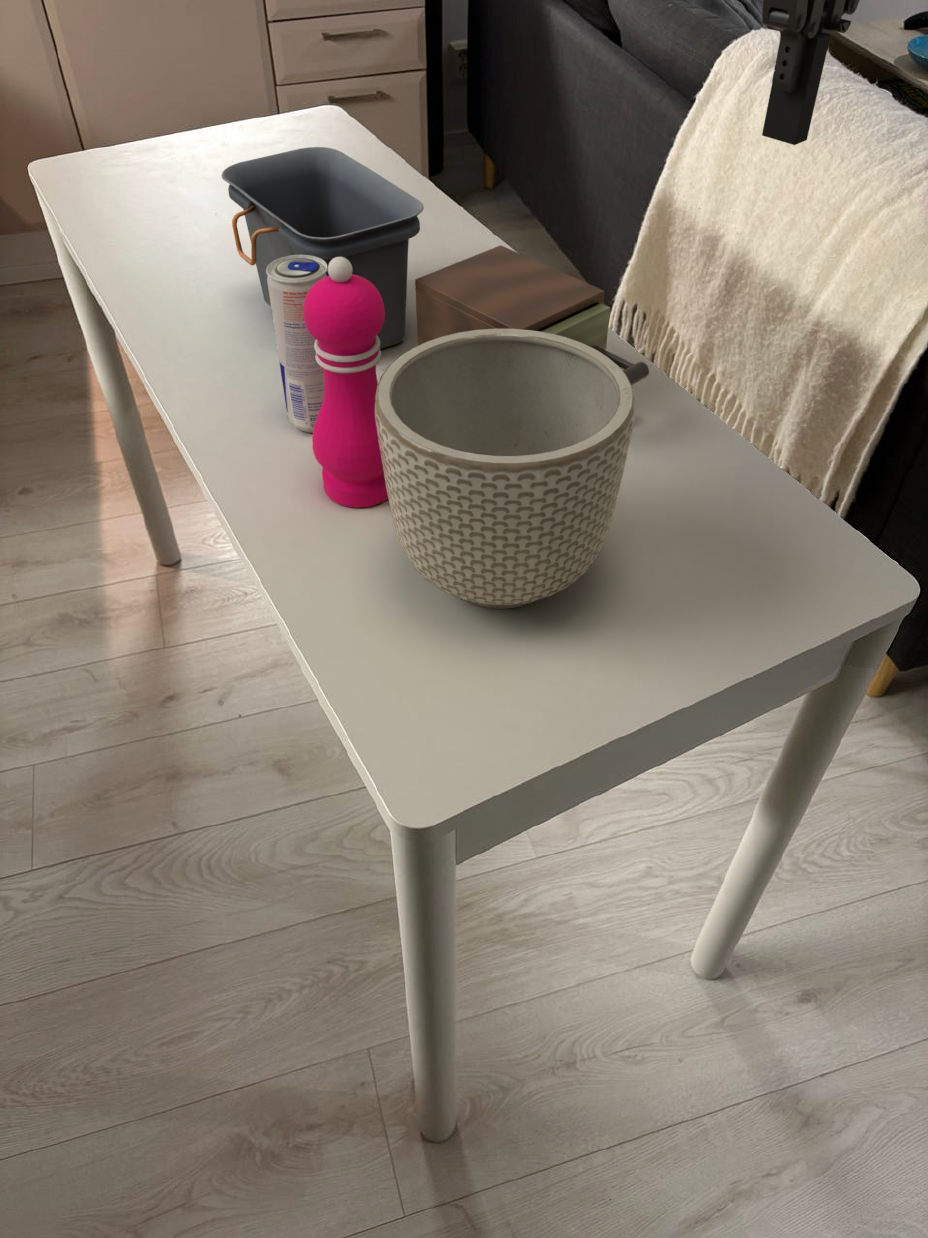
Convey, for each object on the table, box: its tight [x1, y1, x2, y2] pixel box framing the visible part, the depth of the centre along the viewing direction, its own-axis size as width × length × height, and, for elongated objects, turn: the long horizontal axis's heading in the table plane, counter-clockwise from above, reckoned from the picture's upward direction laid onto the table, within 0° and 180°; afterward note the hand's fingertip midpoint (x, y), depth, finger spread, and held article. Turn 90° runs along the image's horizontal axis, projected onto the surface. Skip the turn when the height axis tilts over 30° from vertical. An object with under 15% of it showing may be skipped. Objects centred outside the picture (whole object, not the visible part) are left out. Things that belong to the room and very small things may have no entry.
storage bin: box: [221, 146, 425, 350], centre depth 99 cm, size 21×16×14 cm
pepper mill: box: [303, 257, 389, 508], centre depth 76 cm, size 7×7×20 cm
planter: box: [375, 329, 636, 610], centre depth 70 cm, size 17×17×16 cm
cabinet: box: [414, 245, 605, 346], centre depth 93 cm, size 14×11×10 cm
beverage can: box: [266, 255, 329, 434], centre depth 85 cm, size 5×5×15 cm
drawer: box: [541, 303, 650, 386], centre depth 90 cm, size 19×10×8 cm, turn 43°
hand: (784, 137), depth 68 cm, fingers closed
